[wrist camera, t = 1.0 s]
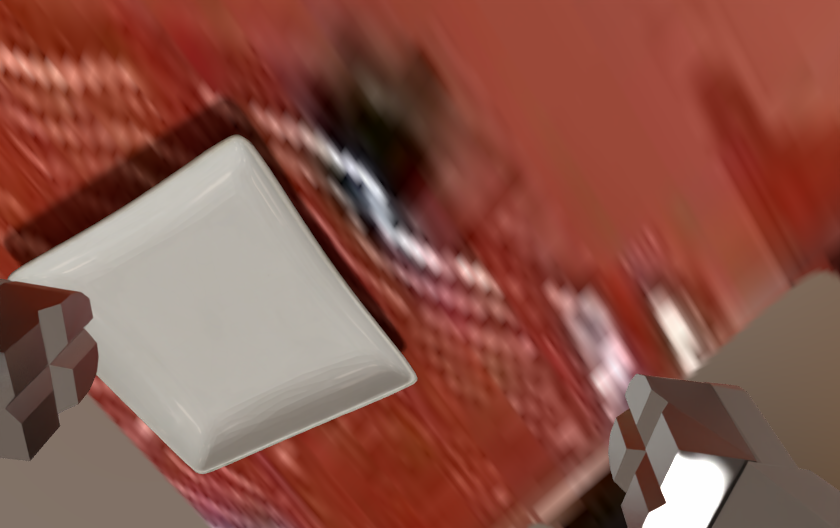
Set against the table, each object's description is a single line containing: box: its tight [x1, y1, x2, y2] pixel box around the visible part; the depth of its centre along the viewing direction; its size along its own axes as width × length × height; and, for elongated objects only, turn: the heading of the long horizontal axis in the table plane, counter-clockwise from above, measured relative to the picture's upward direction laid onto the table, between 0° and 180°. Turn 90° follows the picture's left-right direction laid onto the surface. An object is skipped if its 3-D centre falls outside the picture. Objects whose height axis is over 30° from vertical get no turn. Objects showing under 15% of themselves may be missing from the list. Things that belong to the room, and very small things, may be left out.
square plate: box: [8, 135, 417, 474], centre depth 55 cm, size 27×27×4 cm
